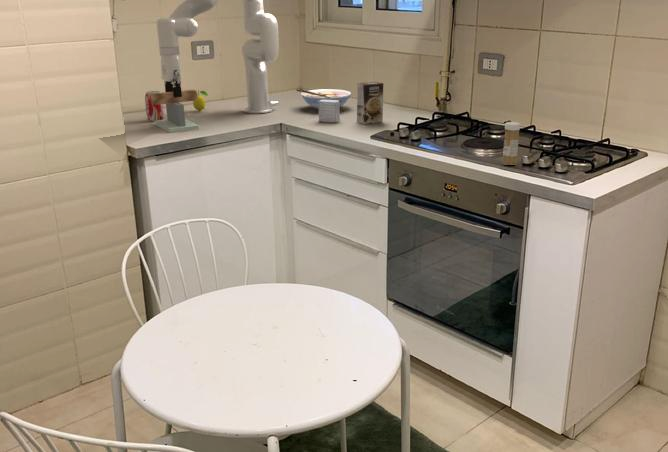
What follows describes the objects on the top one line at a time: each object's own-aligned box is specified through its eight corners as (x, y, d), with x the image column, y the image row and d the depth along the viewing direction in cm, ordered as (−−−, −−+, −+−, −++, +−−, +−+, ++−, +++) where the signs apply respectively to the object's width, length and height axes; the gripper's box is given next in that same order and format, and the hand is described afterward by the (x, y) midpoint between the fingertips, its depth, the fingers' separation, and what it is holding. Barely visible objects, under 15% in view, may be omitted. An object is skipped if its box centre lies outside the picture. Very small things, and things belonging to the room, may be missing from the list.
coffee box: (364, 124, 266) (364, 84, 260) (356, 122, 271) (356, 82, 265) (383, 122, 269) (384, 83, 264) (375, 119, 275) (375, 81, 269)
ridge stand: (182, 121, 276) (180, 97, 272) (199, 129, 261) (197, 104, 257) (155, 124, 270) (152, 100, 266) (170, 132, 255) (167, 107, 251)
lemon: (209, 110, 298) (207, 88, 295) (205, 112, 293) (203, 90, 289) (195, 110, 299) (193, 88, 295) (191, 112, 294) (189, 90, 290)
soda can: (159, 122, 274) (156, 93, 270) (144, 121, 276) (141, 93, 271) (167, 118, 281) (164, 90, 277) (152, 118, 282) (148, 90, 278)
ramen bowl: (362, 110, 294) (362, 92, 291) (320, 116, 282) (319, 97, 279) (331, 102, 314) (331, 85, 311) (290, 108, 302) (290, 90, 299)
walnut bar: (153, 105, 256) (152, 94, 255) (151, 103, 259) (150, 93, 257) (197, 100, 265) (196, 90, 264) (194, 99, 268) (193, 89, 266)
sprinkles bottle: (499, 163, 208) (502, 121, 204) (512, 162, 209) (516, 121, 204) (505, 167, 204) (509, 124, 199) (519, 166, 205) (523, 124, 200)
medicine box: (339, 121, 273) (339, 100, 270) (336, 123, 269) (336, 102, 266) (322, 119, 276) (321, 99, 273) (318, 122, 272) (318, 101, 269)
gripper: (153, 50, 260) (157, 93, 266) (167, 54, 246) (171, 99, 252) (171, 49, 264) (175, 91, 270) (186, 52, 250) (190, 97, 256)
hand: (173, 95), depth 261 cm, fingers open, 9 cm apart
